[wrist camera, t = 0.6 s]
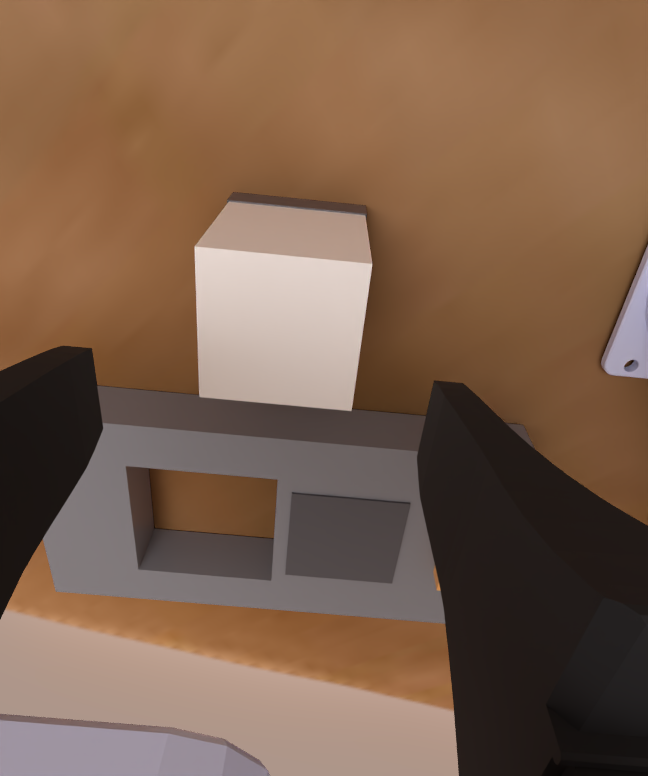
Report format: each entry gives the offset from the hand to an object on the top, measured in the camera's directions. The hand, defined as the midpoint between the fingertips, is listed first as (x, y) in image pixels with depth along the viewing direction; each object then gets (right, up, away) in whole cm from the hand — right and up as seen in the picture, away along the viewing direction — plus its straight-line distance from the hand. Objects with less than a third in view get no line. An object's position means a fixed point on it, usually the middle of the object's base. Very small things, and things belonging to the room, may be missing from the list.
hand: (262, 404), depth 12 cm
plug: (0, +5, +8) cm, 10 cm away
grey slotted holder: (-1, -5, +14) cm, 14 cm away
